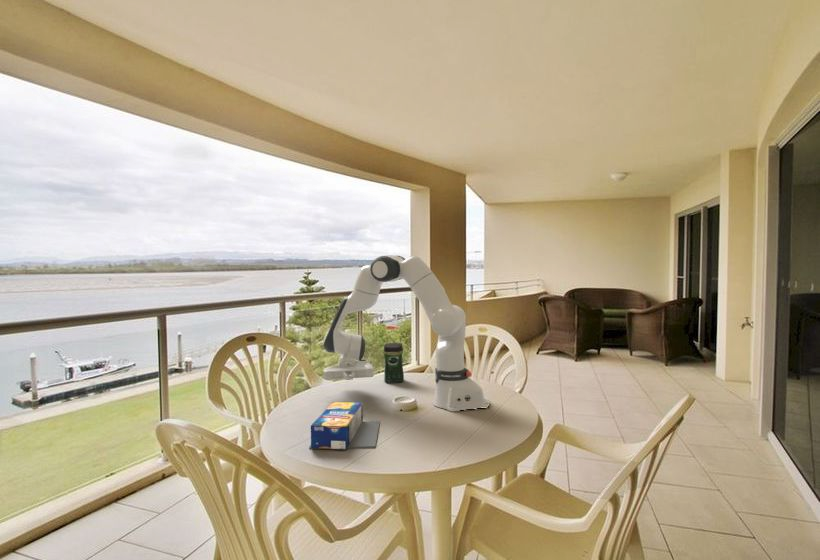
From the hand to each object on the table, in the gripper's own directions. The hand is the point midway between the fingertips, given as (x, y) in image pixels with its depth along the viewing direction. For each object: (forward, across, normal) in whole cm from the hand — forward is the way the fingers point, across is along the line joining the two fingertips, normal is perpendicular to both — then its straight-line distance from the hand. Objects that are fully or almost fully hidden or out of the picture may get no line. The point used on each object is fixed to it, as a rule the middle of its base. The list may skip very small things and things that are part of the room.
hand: (349, 377), depth 149 cm
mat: (+24, -2, +12) cm, 27 cm away
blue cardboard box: (+12, -1, +9) cm, 15 cm away
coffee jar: (-33, +22, +12) cm, 42 cm away
